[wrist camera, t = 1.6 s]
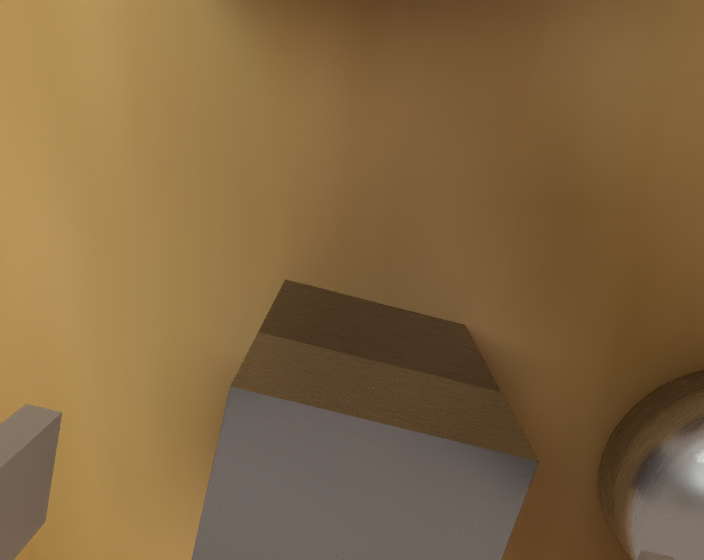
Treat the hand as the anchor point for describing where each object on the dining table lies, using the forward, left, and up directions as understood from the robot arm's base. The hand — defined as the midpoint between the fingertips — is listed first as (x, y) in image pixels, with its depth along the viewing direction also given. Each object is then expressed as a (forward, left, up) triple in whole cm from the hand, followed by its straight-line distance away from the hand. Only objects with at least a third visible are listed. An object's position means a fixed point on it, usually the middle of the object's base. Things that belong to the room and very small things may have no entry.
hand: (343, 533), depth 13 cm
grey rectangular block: (0, 0, -7) cm, 7 cm away
